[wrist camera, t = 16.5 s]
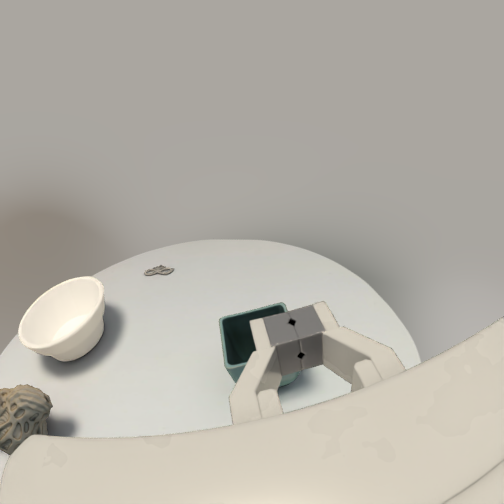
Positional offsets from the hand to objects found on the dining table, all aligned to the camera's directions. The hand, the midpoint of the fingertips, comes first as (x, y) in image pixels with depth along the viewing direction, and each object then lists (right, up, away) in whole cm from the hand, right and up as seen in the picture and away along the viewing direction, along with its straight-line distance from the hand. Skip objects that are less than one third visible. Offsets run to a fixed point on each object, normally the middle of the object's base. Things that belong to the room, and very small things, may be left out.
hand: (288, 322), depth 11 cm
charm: (-23, -2, +57) cm, 61 cm away
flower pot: (+1, -14, +28) cm, 31 cm away
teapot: (-37, -28, +19) cm, 50 cm away
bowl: (-36, -15, +40) cm, 56 cm away
